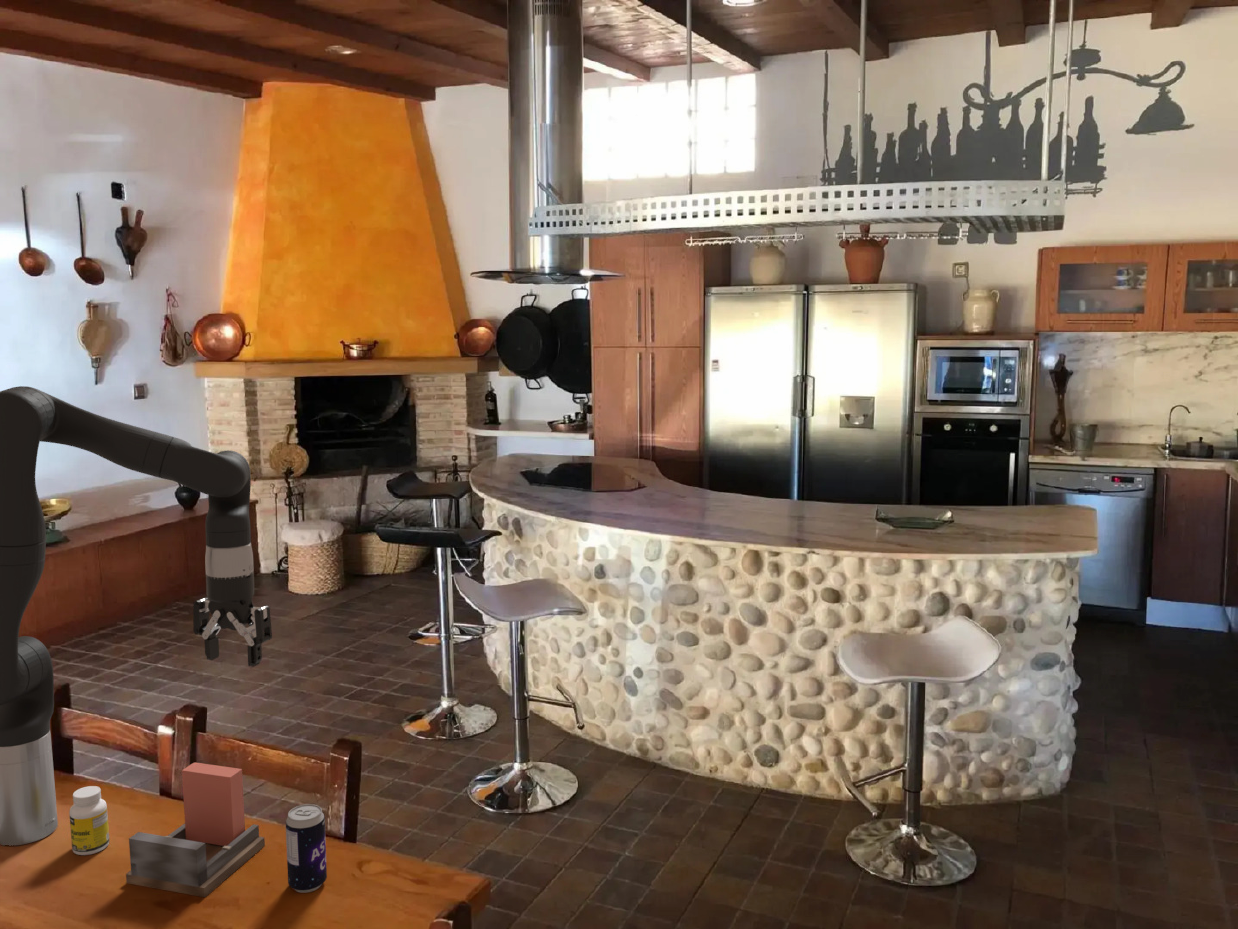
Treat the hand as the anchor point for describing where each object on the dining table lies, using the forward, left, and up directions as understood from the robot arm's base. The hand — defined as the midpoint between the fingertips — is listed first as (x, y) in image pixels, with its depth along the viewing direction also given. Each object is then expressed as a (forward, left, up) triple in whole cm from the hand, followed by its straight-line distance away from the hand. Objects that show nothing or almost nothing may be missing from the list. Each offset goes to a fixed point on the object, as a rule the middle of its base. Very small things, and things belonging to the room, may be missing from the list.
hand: (233, 662), depth 166 cm
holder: (+3, -15, -28) cm, 32 cm away
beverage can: (+23, -16, -28) cm, 40 cm away
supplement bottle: (-17, -16, -28) cm, 36 cm away
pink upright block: (+3, -11, -26) cm, 28 cm away
